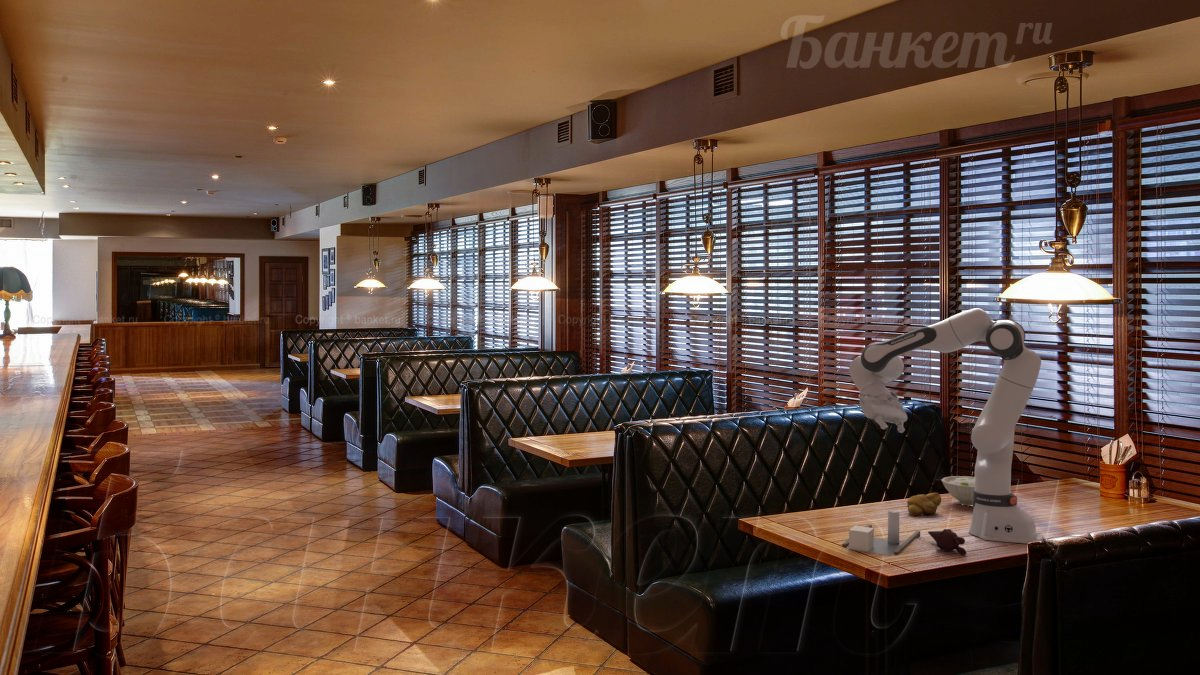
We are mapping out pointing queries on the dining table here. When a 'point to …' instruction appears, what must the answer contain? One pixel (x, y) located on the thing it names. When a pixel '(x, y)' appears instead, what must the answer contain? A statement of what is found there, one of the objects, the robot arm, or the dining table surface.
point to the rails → (901, 547)
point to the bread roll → (923, 504)
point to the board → (882, 547)
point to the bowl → (960, 488)
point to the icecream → (948, 540)
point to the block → (861, 538)
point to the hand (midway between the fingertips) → (893, 430)
